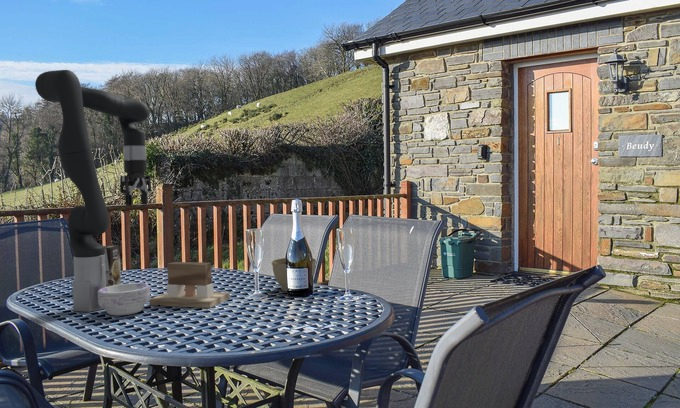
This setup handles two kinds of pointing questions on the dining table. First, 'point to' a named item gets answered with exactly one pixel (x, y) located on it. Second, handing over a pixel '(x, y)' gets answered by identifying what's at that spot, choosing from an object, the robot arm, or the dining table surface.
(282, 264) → the planter bowl
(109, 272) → the coffee box
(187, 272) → the walnut bar
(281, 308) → the dining table surface
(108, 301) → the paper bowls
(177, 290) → the display stand
